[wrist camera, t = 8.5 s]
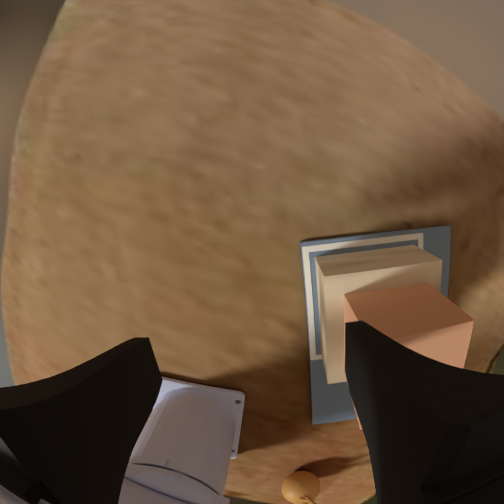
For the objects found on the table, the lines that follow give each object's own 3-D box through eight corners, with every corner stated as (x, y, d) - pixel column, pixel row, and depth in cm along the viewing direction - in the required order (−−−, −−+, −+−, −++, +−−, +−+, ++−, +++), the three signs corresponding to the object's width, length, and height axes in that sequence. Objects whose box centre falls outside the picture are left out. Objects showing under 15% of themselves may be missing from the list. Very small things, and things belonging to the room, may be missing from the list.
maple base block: (409, 335, 19) (430, 363, 16) (320, 350, 20) (328, 384, 16) (414, 244, 18) (442, 260, 14) (314, 256, 19) (324, 276, 15)
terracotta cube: (418, 357, 16) (451, 406, 11) (343, 370, 16) (360, 429, 11) (427, 282, 14) (474, 320, 10) (343, 294, 15) (369, 342, 10)
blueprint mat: (426, 398, 21) (428, 401, 21) (312, 421, 22) (312, 425, 22) (447, 225, 18) (451, 226, 17) (300, 241, 19) (300, 243, 18)
